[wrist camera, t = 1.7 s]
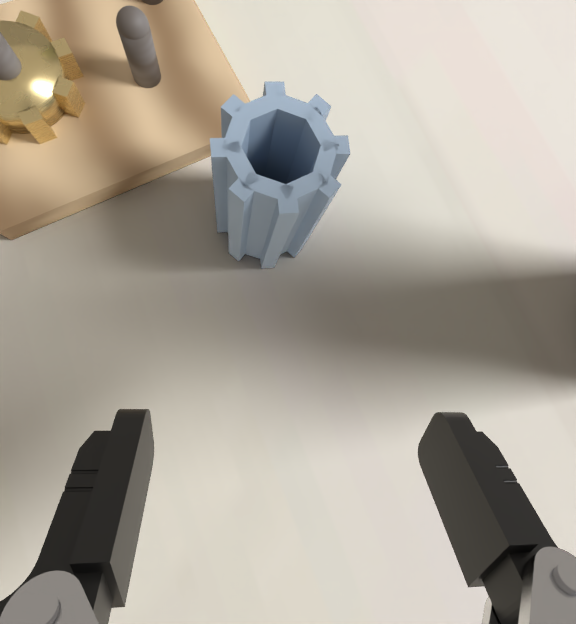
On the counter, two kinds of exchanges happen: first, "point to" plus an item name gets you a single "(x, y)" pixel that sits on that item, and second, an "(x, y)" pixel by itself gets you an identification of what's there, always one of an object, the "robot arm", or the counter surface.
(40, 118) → the gear
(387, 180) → the counter surface
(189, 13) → the gear board
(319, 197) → the pinion
